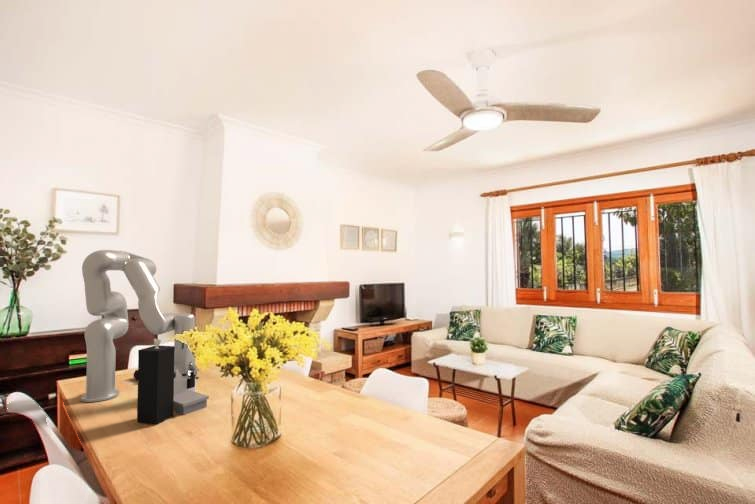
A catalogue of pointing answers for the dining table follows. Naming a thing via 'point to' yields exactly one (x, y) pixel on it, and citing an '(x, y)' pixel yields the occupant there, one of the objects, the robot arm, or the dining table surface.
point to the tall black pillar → (155, 383)
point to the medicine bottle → (182, 383)
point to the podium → (189, 402)
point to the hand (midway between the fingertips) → (183, 385)
